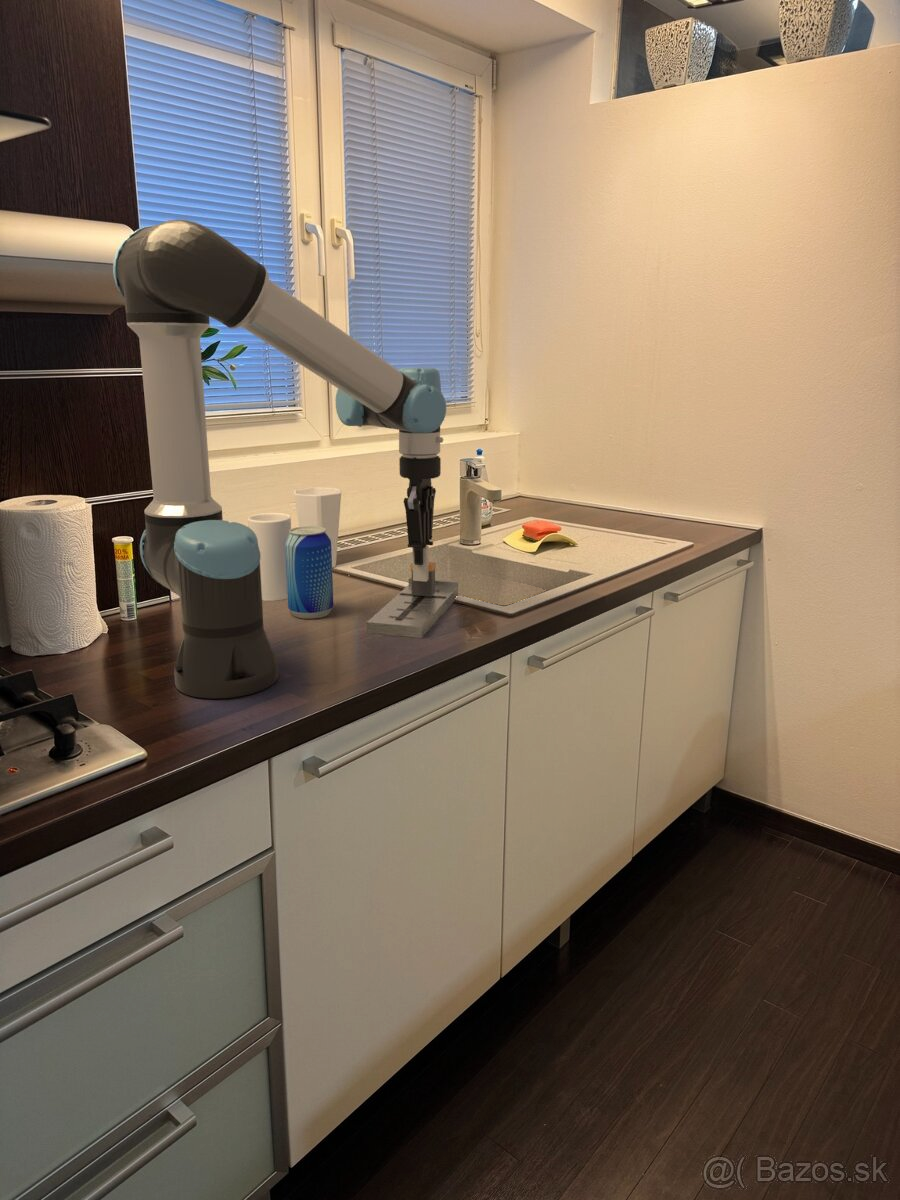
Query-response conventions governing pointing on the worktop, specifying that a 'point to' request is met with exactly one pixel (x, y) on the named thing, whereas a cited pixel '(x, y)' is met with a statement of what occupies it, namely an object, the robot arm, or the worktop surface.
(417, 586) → the fader
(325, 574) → the beer can
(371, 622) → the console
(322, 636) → the worktop surface
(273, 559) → the cup
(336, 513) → the cup
